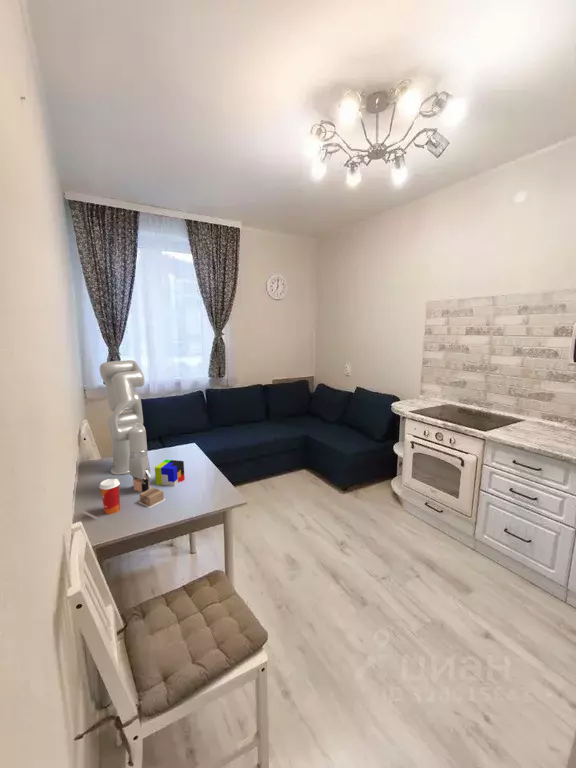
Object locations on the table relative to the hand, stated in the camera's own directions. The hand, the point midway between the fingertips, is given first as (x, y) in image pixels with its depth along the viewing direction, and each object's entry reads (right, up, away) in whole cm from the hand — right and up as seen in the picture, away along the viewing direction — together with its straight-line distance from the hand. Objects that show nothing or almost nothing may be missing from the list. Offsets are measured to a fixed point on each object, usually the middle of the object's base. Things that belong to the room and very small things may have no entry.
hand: (141, 488), depth 168 cm
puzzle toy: (+11, 0, +9) cm, 14 cm away
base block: (+9, -2, -11) cm, 15 cm away
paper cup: (-5, -5, -19) cm, 20 cm away
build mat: (+8, -3, -9) cm, 13 cm away
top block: (0, -1, 0) cm, 1 cm away
